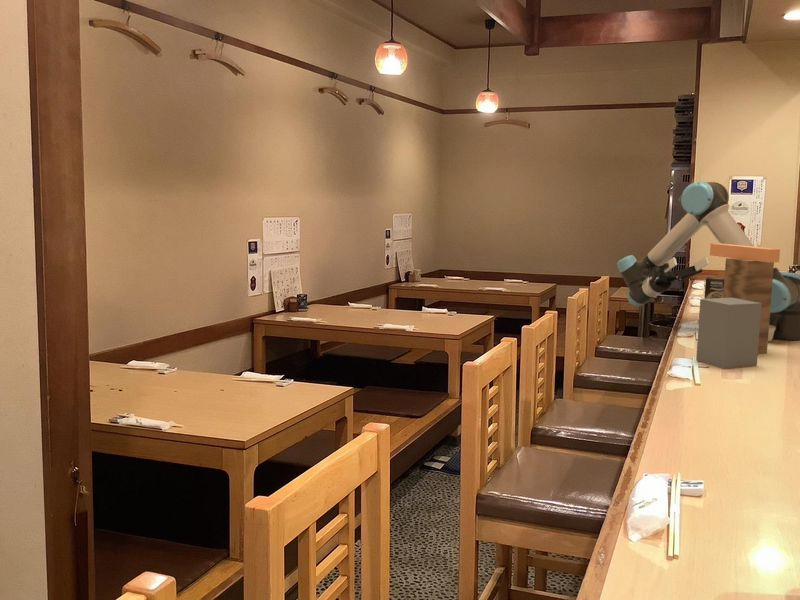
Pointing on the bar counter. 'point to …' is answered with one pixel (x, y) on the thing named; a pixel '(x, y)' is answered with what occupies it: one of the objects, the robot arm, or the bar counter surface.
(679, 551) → the bar counter surface
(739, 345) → the low post
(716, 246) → the beam
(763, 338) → the tall post
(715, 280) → the coffee box
